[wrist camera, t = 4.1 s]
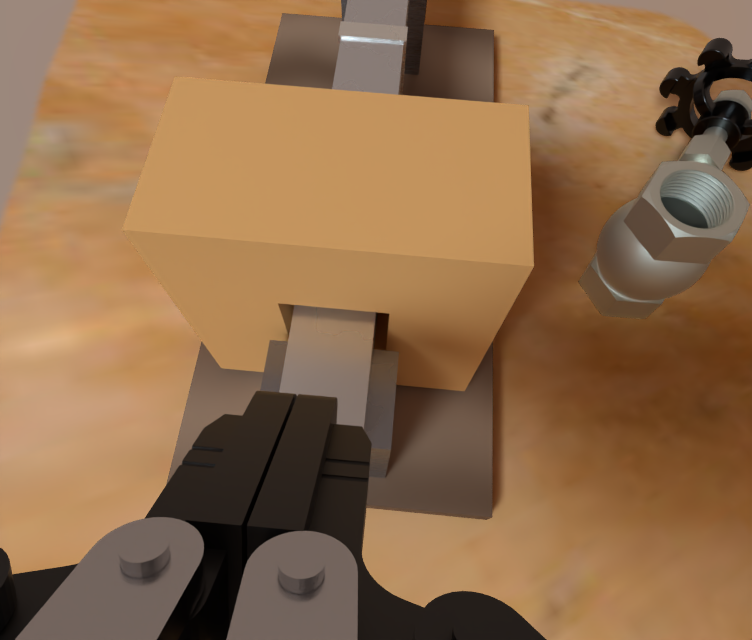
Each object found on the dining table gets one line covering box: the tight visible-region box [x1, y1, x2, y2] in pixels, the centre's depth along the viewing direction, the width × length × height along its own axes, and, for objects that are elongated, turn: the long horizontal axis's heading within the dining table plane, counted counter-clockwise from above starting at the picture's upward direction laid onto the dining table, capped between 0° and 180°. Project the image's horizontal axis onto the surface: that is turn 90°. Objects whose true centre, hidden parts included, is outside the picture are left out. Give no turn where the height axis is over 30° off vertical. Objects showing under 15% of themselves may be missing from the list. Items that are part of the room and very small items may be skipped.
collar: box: [122, 76, 534, 391], centre depth 18 cm, size 5×10×10 cm, turn 85°
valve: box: [578, 38, 752, 319], centre depth 24 cm, size 7×7×12 cm
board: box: [166, 13, 494, 520], centre depth 26 cm, size 26×12×1 cm, turn 175°
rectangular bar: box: [260, 0, 427, 478], centre depth 22 cm, size 24×4×7 cm, turn 175°
